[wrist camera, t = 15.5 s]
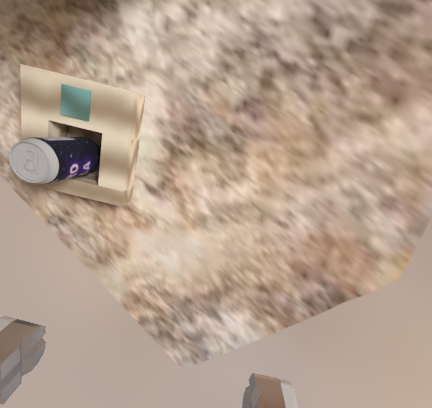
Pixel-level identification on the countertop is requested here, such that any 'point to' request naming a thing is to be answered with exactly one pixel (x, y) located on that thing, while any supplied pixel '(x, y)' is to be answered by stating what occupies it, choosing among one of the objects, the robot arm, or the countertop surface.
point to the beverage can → (54, 158)
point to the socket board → (87, 119)
